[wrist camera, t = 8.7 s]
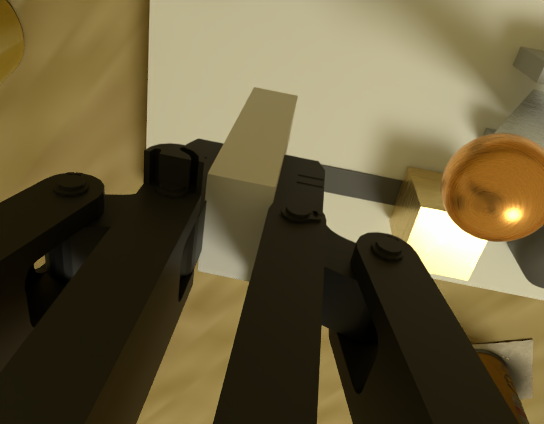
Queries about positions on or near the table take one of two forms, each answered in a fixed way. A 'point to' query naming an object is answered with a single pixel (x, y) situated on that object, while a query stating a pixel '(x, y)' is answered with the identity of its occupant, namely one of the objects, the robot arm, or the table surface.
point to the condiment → (510, 371)
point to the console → (357, 94)
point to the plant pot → (9, 40)
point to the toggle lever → (500, 178)
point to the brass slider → (432, 227)
